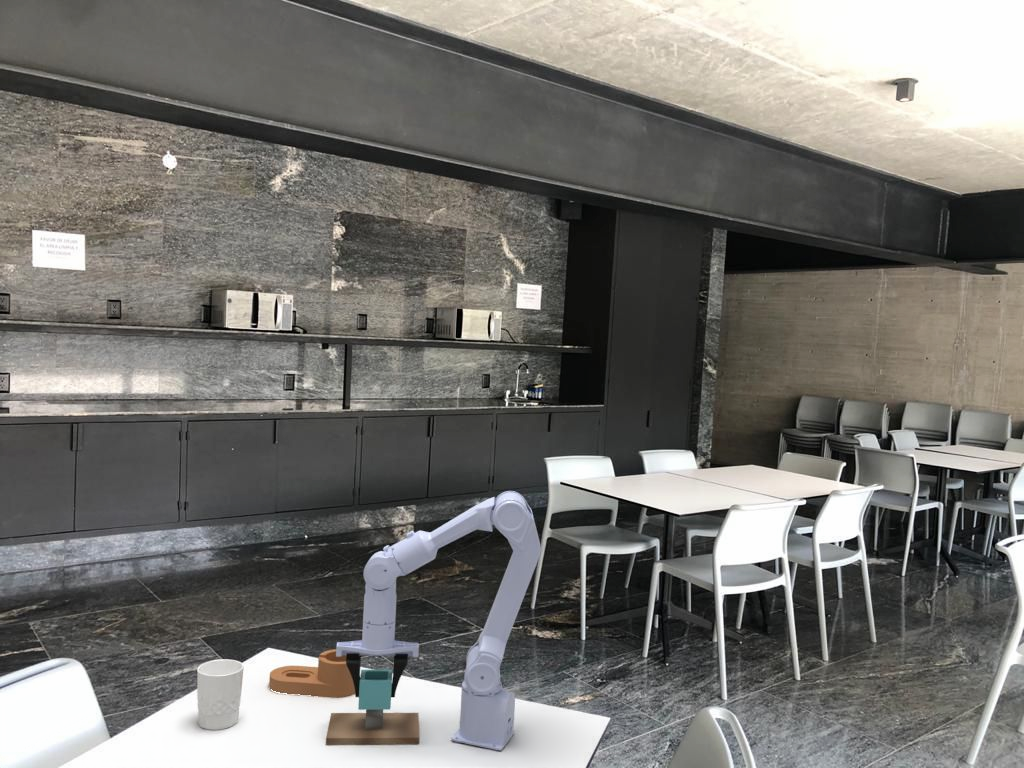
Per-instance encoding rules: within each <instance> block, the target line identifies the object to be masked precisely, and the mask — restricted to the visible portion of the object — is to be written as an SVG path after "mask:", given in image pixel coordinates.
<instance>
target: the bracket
mask: <svg viewBox="0 0 1024 768" xmlns="http://www.w3.org/2000/svg"><path fill="white" fill-rule="evenodd" d="M269 687H270V689H272V690H273V691H276V692H280V693H287V694H300V695H311V696H310V697H314V696H318V697H317V698H319V697H320V698H327V699H328V698H329V699H330V698H331V699H342V698H348V697H351V696H354V695H355V687H354V683H353V679H352V676H351V674H350V671H349V669H348V667H347V664H346V655H342V656H341V657H336V648H335V649H334V648H333V649H328V650H325V651H323V652H321V653H320V654H319V657H318V664H317V666H307V665H305V666H304V665H285V666H280V667H277V668H274V669H273V670H271V671H270V673H269V681H268V688H269ZM270 689H269V690H270ZM300 695H299V696H300Z"/></svg>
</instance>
